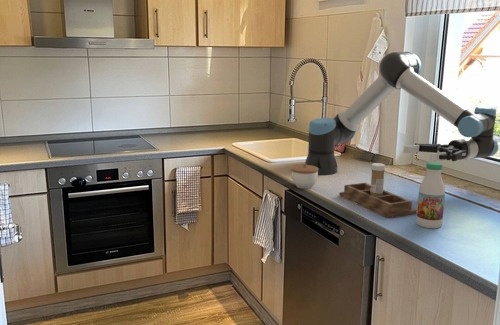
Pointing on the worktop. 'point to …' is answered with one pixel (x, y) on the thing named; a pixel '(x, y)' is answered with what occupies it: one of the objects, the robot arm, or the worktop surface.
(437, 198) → the milk bottle
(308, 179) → the lidded jar
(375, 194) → the spice bottle
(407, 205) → the wooden compartment tray
